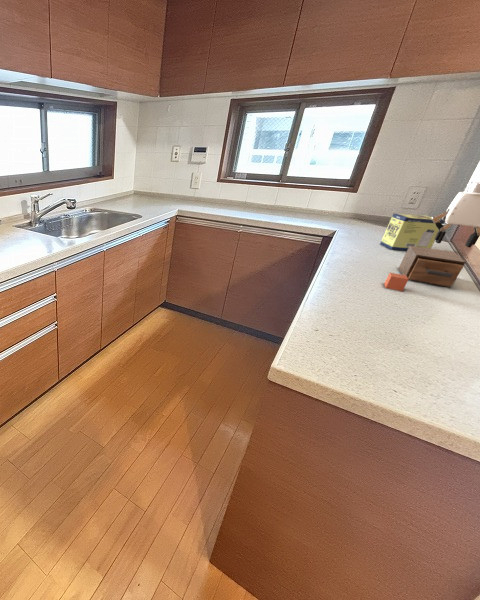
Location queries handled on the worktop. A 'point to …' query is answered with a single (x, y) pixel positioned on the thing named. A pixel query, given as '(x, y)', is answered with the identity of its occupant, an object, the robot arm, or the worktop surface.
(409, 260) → the cabinet
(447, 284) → the drawer
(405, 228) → the protein box
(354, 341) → the worktop surface
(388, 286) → the block
